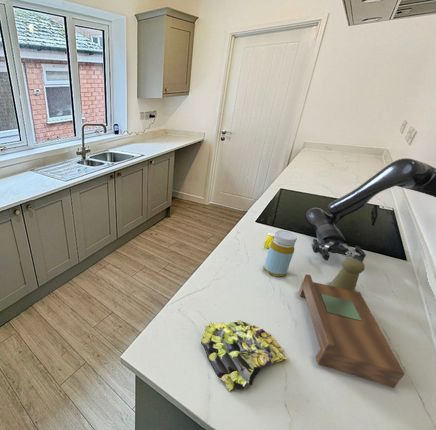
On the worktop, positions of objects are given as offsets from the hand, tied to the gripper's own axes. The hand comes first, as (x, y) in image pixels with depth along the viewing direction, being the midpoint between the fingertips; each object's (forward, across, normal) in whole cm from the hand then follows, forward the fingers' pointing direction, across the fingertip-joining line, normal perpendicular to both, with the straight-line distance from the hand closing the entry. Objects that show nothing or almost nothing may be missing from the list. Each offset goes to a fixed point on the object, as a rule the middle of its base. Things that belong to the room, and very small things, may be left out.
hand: (343, 261), depth 87 cm
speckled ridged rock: (+44, -29, +7) cm, 53 cm away
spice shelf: (+26, -6, +6) cm, 28 cm away
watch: (-12, -20, +6) cm, 24 cm away
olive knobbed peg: (+6, 0, +7) cm, 9 cm away
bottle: (+4, -19, +7) cm, 21 cm away
